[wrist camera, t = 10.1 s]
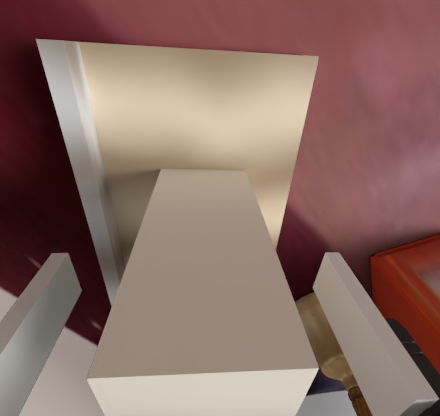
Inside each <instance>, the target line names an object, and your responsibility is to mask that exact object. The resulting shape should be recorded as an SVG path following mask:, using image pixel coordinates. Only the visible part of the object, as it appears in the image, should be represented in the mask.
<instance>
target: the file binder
mask: <svg viewBox="0 0 440 416" xmlns="http://www.w3.org/2000/svg"><path fill="white" fill-rule="evenodd" d="M370 262H371V279H372V297H373V303H374V304H375V306H376V307H377V308H378V310H379V311H380V313H381V314H382V316H383V317H384V318H394V319H395V320H397V321H398V322H399V323H400V324H401V325H402V326H403V327H405V328H406V329H407V331H408V332H409V334H410V335H411V336H412V338H413V339H414V340H415V343H416V344H418V346H419V347H420V348H421V350H422V351H423V354H424V355H426V357H427V358H428V359H429V361H430V362H431V363H432V365H433V366H434V367H435V369H436V370H437V372H438V373H439V374H440V234H439V235H435V236H432V237H429V238H426V239H422V240H419V241H416V242H412V243H409V244H406V245H403V246H399V247H396V248H393V249H389V250H386V251H383V252H380V253H376V254H374V256H373V257H370Z"/></svg>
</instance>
